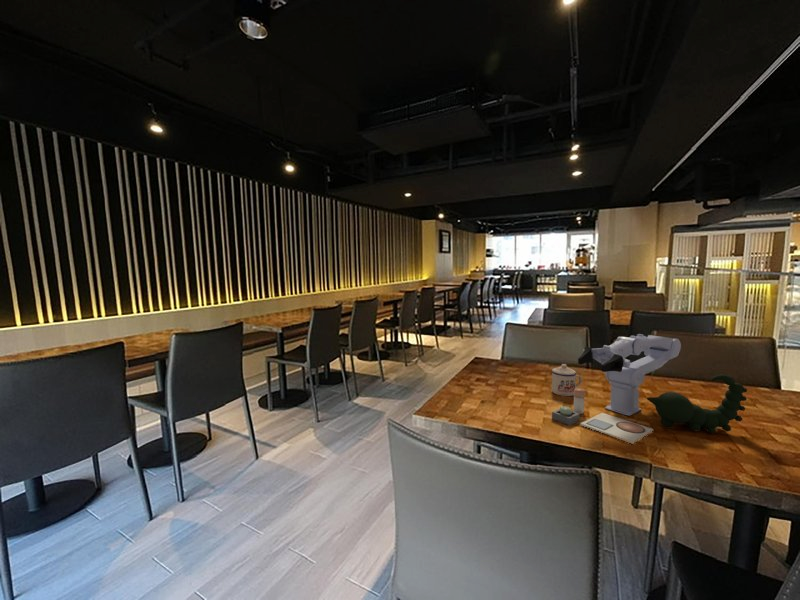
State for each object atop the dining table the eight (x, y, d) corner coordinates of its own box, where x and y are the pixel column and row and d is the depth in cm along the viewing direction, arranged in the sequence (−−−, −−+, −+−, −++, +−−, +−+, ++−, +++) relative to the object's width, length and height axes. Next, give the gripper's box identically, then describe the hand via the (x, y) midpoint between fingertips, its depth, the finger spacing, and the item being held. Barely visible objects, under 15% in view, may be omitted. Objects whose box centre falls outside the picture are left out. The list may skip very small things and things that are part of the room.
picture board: (602, 414, 117) (602, 412, 117) (653, 431, 105) (653, 428, 105) (580, 425, 110) (580, 422, 110) (632, 445, 97) (632, 441, 97)
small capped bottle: (576, 409, 123) (577, 387, 122) (586, 412, 120) (586, 390, 119) (571, 411, 121) (571, 389, 120) (580, 414, 118) (581, 392, 117)
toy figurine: (723, 430, 109) (636, 416, 114) (734, 372, 107) (644, 361, 112) (746, 444, 100) (650, 429, 105) (758, 382, 98) (659, 370, 103)
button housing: (561, 414, 118) (562, 407, 118) (579, 421, 113) (579, 413, 113) (551, 419, 115) (552, 412, 114) (569, 425, 110) (569, 418, 109)
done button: (563, 411, 116) (563, 405, 116) (573, 414, 113) (574, 409, 113) (557, 413, 114) (557, 408, 114) (567, 417, 111) (568, 411, 111)
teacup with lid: (557, 396, 135) (558, 368, 134) (547, 388, 144) (547, 361, 143) (587, 396, 135) (588, 367, 134) (575, 388, 144) (576, 361, 143)
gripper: (593, 336, 122) (569, 347, 115) (638, 347, 109) (614, 360, 103) (593, 355, 123) (569, 366, 117) (637, 367, 111) (613, 381, 104)
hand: (590, 364), depth 110 cm, fingers open, 7 cm apart
